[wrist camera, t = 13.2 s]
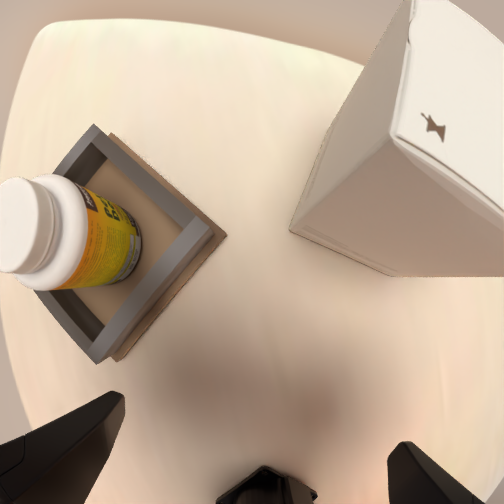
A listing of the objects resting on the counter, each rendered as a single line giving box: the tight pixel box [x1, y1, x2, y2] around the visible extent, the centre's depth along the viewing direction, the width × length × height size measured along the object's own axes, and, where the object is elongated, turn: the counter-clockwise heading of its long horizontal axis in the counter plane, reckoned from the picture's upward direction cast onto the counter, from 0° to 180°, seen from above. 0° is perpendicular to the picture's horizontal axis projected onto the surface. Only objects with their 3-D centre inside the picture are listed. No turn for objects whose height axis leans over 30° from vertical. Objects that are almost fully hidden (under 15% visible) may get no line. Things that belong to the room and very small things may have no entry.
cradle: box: [34, 124, 227, 365], centre depth 18 cm, size 12×12×4 cm
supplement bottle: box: [0, 174, 141, 291], centre depth 14 cm, size 6×6×10 cm
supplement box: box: [289, 0, 504, 277], centre depth 13 cm, size 9×9×15 cm
